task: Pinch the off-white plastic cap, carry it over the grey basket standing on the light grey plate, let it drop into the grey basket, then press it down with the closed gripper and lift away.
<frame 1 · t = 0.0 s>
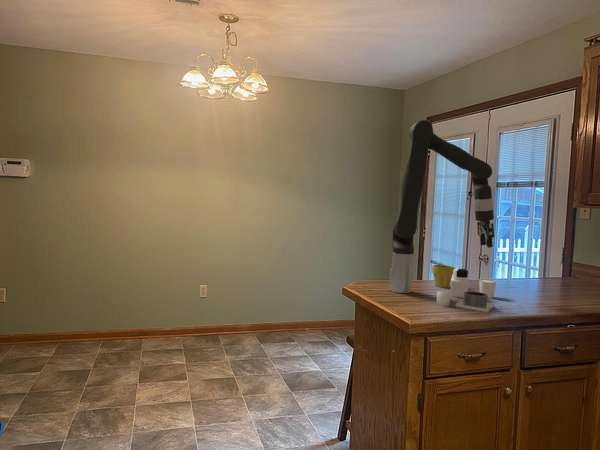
hand: (486, 246, 200), 22 cm above the table, tool pointing down, fingers open, 8 cm apart
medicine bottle: (458, 296, 200), on the table
plant pot: (441, 286, 221), on the table
cap: (442, 304, 182), on the table
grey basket: (474, 306, 181), on the table
white cylinder: (486, 297, 201), on the table
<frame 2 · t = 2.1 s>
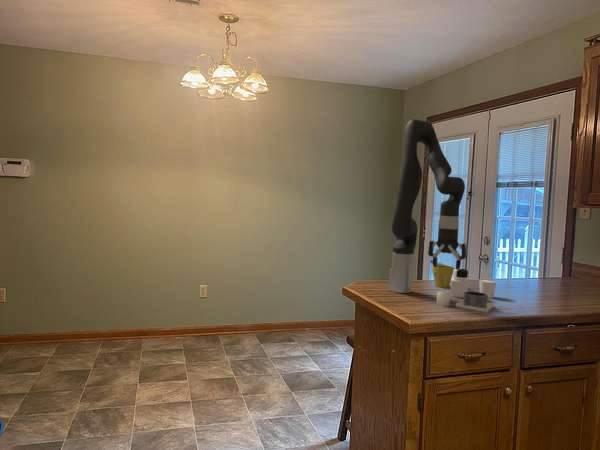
hand: (446, 268, 181), 15 cm above the table, tool pointing down, fingers open, 8 cm apart
nothing on the table moved.
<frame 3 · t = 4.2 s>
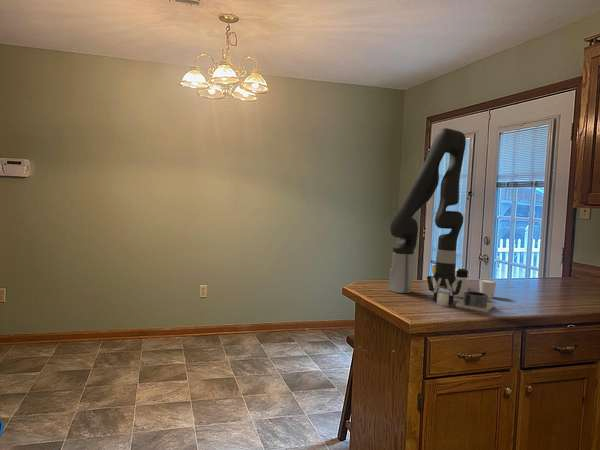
hand: (442, 303, 182), 1 cm above the table, tool pointing down, fingers closed on cap, 5 cm apart
cap: (442, 304, 182), on the table, touching gripper
everything else where it was.
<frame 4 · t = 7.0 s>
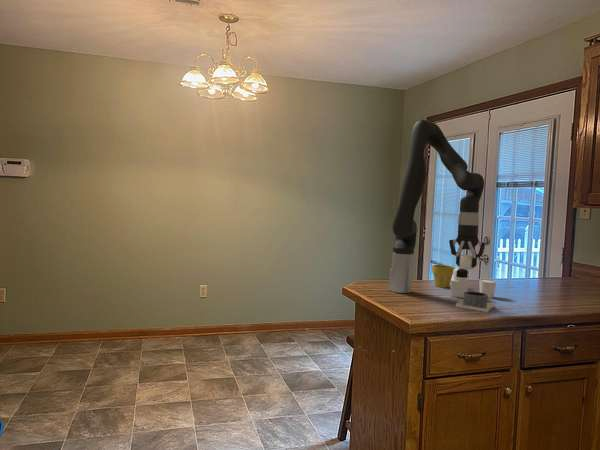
hand: (465, 266, 180), 16 cm above the table, tool pointing down, fingers closed on cap, 5 cm apart
cap: (465, 268, 180), point 15 cm above the table, touching gripper
everything else where it was.
when the fingers open (7 cm above the table, at t = 9.7 s): cap drops 6 cm, resting on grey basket.
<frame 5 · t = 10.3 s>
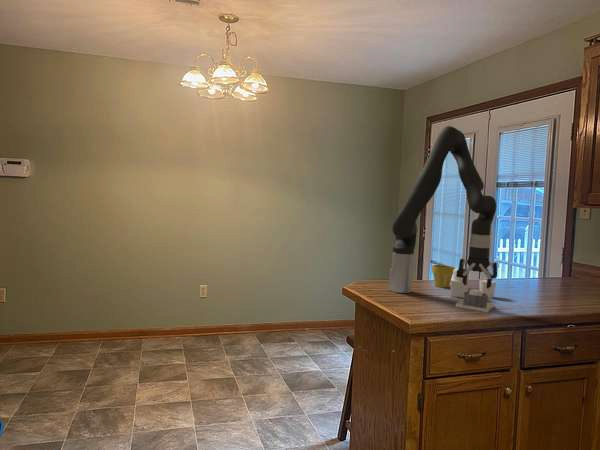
hand: (476, 286, 180), 8 cm above the table, tool pointing down, fingers open, 8 cm apart
cap: (475, 303, 181), point 1 cm above the table, touching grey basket
everything else where it was.
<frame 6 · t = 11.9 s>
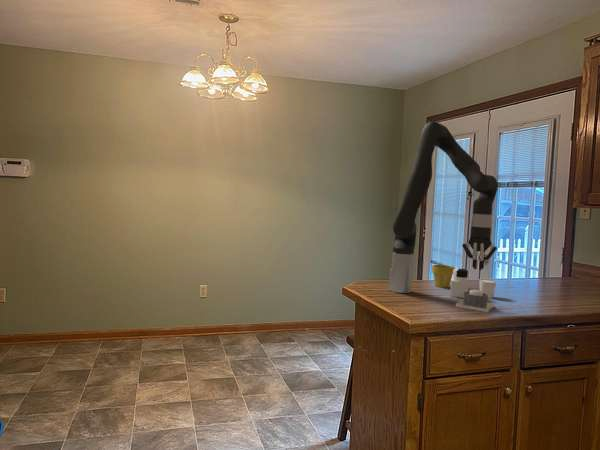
hand: (477, 269, 180), 15 cm above the table, tool pointing down, fingers closed
nothing on the table moved.
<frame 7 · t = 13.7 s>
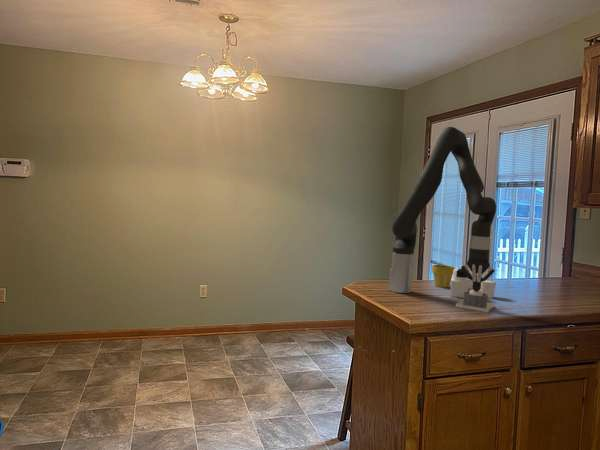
hand: (476, 290, 181), 6 cm above the table, tool pointing down, fingers closed
nothing on the table moved.
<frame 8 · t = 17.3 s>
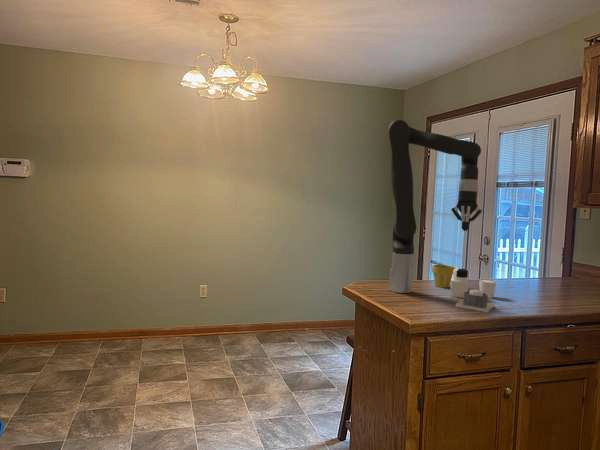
hand: (465, 230, 196), 29 cm above the table, tool pointing down, fingers closed
nothing on the table moved.
at the end: cap 0.0 cm off-centre on the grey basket, point 1.2 cm above the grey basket's base; cap tilted 1°; the gripper is holding nothing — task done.
